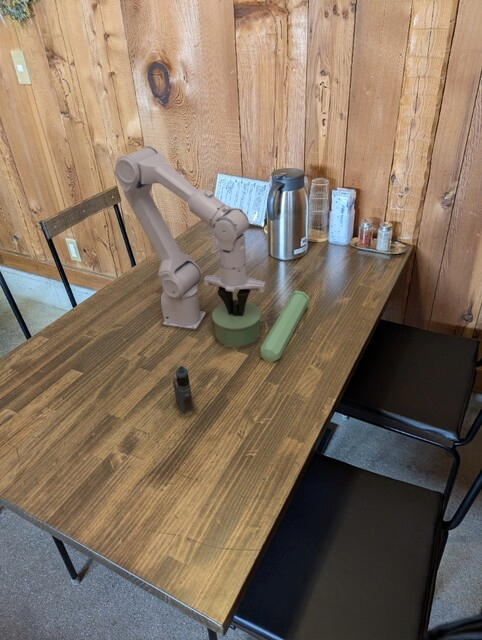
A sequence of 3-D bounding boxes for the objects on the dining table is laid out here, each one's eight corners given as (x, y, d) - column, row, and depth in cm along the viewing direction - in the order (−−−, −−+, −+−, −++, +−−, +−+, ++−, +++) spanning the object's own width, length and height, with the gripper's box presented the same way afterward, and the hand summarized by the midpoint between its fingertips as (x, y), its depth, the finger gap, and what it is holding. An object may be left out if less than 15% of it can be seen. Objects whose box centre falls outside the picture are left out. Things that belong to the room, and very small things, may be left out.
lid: (205, 328, 107) (203, 312, 105) (221, 301, 116) (220, 286, 114) (253, 335, 104) (253, 319, 101) (266, 307, 113) (266, 292, 111)
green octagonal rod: (274, 345, 99) (306, 288, 117) (251, 348, 102) (286, 292, 121) (283, 366, 101) (313, 307, 120) (261, 368, 105) (293, 310, 123)
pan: (209, 344, 110) (207, 326, 107) (223, 319, 119) (222, 301, 116) (252, 351, 107) (252, 332, 104) (264, 324, 116) (264, 307, 113)
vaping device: (184, 418, 91) (177, 374, 84) (175, 402, 95) (167, 358, 88) (196, 413, 92) (189, 369, 85) (186, 397, 95) (179, 354, 89)
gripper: (197, 268, 100) (202, 317, 108) (259, 275, 97) (260, 326, 104) (208, 254, 106) (212, 302, 114) (267, 260, 102) (268, 309, 110)
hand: (236, 312), depth 109 cm, fingers closed on lid, 2 cm apart
